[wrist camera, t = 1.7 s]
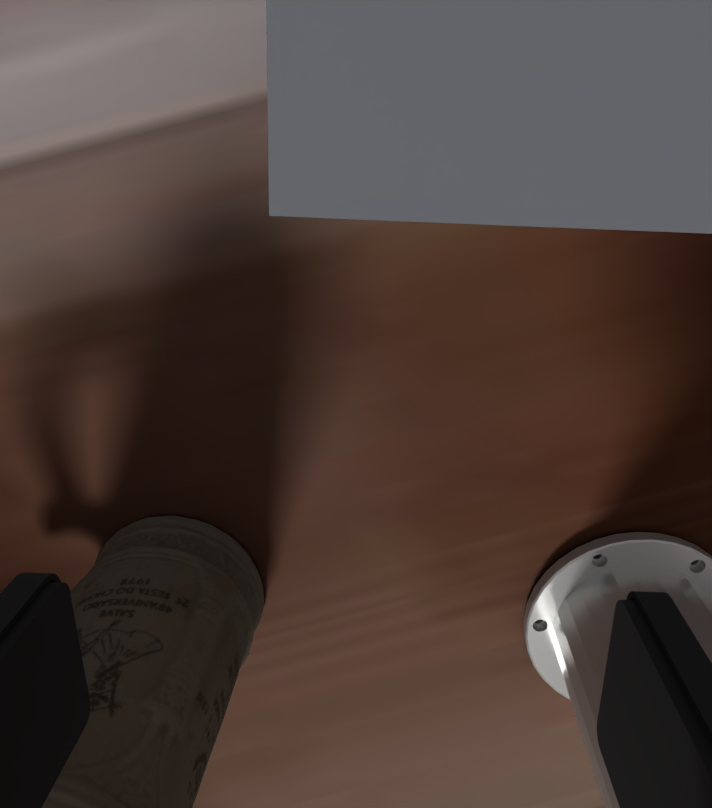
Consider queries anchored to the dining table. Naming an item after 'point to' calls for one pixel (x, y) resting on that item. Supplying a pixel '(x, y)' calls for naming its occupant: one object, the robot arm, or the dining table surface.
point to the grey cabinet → (492, 112)
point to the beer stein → (157, 661)
